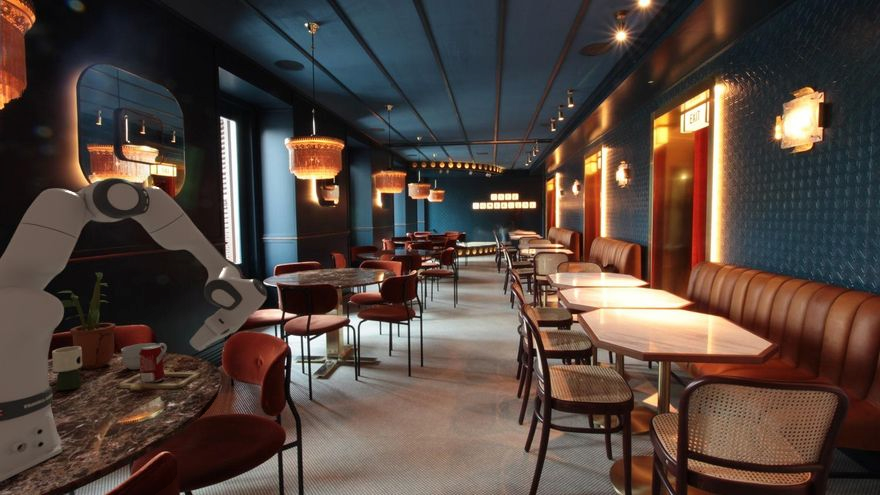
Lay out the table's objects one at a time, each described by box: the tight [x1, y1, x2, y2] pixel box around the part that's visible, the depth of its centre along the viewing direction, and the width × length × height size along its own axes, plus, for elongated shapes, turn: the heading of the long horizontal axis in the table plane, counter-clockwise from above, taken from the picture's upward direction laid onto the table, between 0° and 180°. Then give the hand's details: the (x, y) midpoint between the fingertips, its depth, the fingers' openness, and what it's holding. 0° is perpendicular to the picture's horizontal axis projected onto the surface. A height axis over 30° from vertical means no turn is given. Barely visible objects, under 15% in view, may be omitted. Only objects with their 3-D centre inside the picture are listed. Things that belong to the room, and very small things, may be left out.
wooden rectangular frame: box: [115, 369, 202, 391], centre depth 144 cm, size 15×21×1 cm
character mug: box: [51, 346, 83, 391], centre depth 138 cm, size 11×7×13 cm, turn 39°
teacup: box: [120, 342, 168, 371], centre depth 160 cm, size 14×11×8 cm
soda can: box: [139, 343, 165, 384], centre depth 144 cm, size 7×7×12 cm
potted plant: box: [57, 272, 116, 370], centre depth 156 cm, size 17×16×35 cm
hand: (199, 348), depth 143 cm, fingers closed
